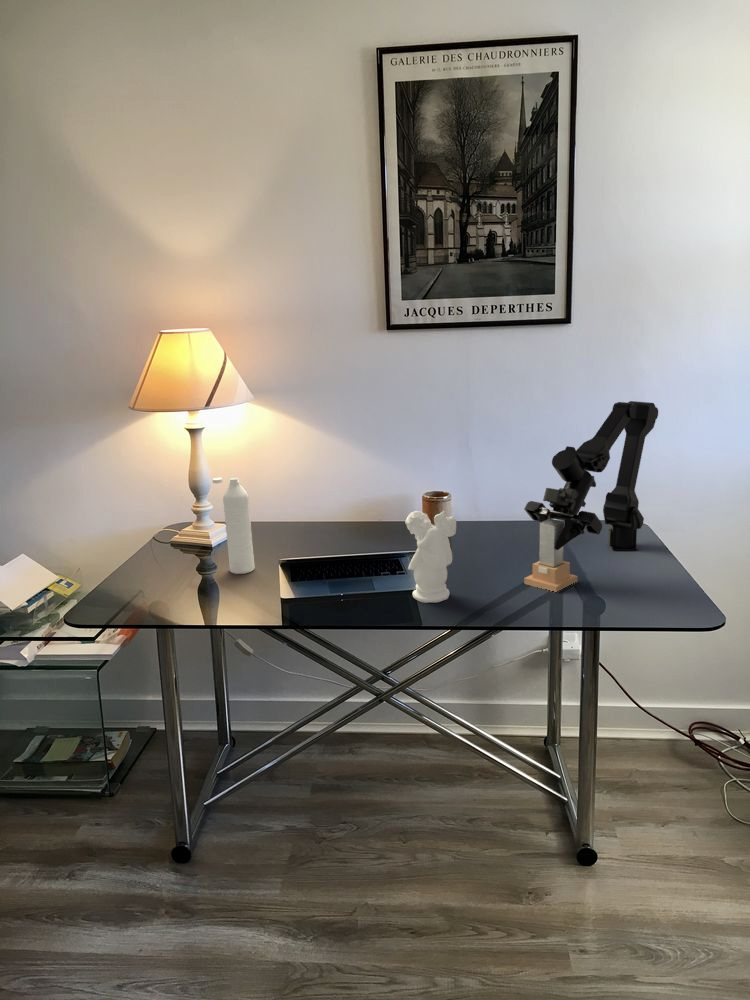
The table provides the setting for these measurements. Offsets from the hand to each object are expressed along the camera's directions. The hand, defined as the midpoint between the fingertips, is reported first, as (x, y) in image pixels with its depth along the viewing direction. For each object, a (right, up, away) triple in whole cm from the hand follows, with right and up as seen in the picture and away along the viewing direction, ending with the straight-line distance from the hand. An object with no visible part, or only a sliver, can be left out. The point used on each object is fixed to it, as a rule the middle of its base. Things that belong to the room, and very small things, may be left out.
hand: (548, 547), depth 187 cm
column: (+1, -5, +2) cm, 6 cm away
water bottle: (-77, -8, +22) cm, 80 cm away
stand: (+1, -9, +3) cm, 10 cm away
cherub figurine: (-26, -11, 0) cm, 28 cm away
